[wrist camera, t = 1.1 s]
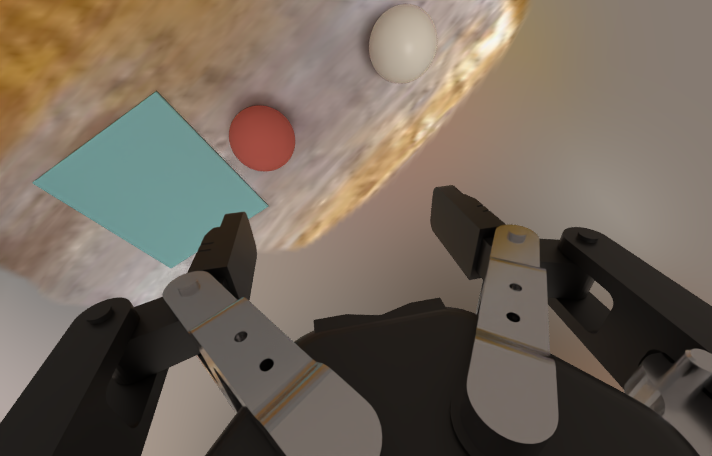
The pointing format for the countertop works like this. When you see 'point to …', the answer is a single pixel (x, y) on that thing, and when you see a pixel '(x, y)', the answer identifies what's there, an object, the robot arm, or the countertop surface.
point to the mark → (152, 182)
